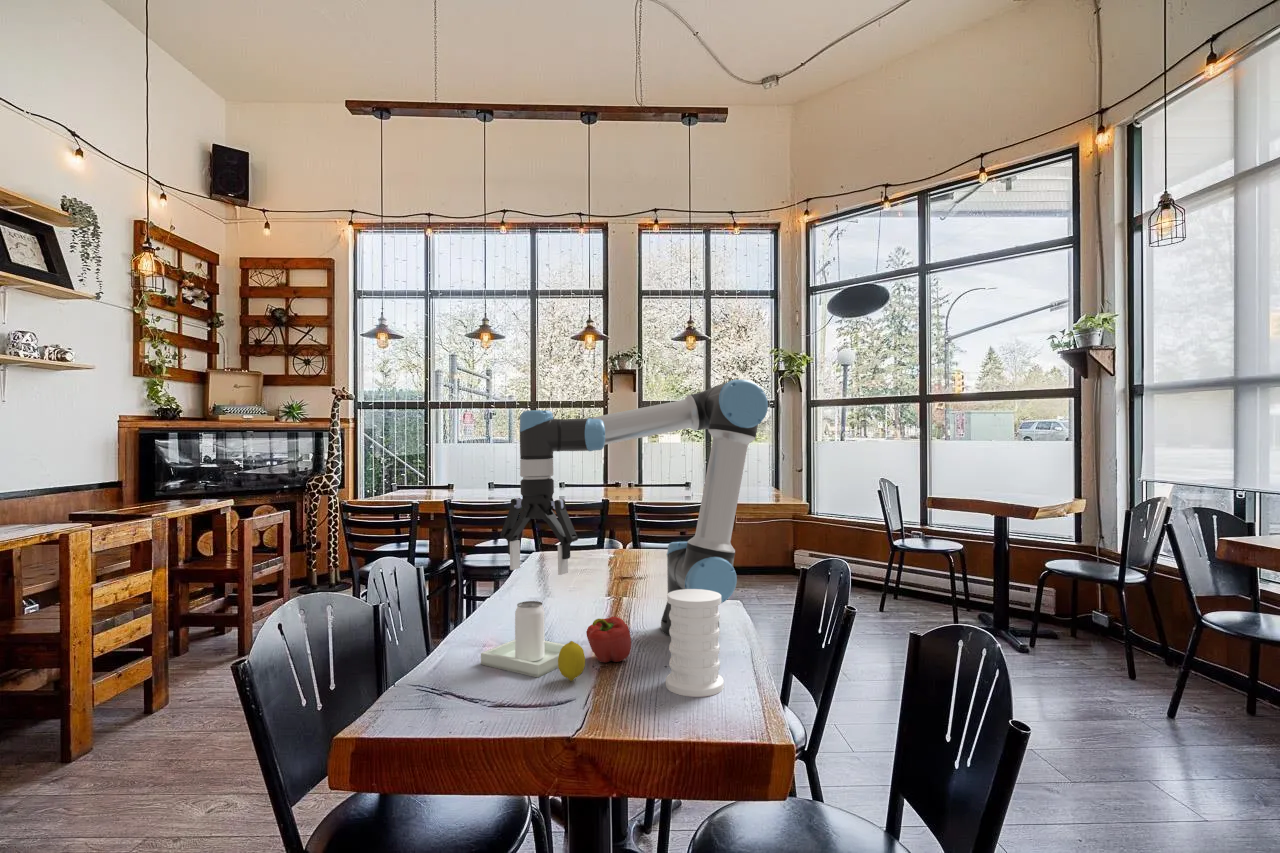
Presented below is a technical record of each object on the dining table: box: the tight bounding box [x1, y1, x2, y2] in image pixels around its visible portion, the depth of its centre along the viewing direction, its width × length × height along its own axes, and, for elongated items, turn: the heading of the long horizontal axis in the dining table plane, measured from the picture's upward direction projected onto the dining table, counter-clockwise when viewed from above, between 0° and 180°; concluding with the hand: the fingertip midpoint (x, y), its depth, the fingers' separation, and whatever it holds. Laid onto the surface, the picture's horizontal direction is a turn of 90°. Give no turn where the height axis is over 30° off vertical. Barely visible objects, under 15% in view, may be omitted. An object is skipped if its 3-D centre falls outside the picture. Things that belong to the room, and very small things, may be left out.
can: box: [514, 600, 546, 662], centre depth 141 cm, size 6×6×12 cm
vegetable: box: [585, 615, 632, 664], centre depth 141 cm, size 11×10×10 cm
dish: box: [480, 639, 565, 678], centre depth 141 cm, size 16×14×2 cm
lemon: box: [558, 640, 586, 682], centre depth 129 cm, size 6×6×8 cm
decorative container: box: [665, 589, 725, 698], centre depth 126 cm, size 12×12×18 cm
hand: (538, 571), depth 144 cm, fingers open, 13 cm apart
